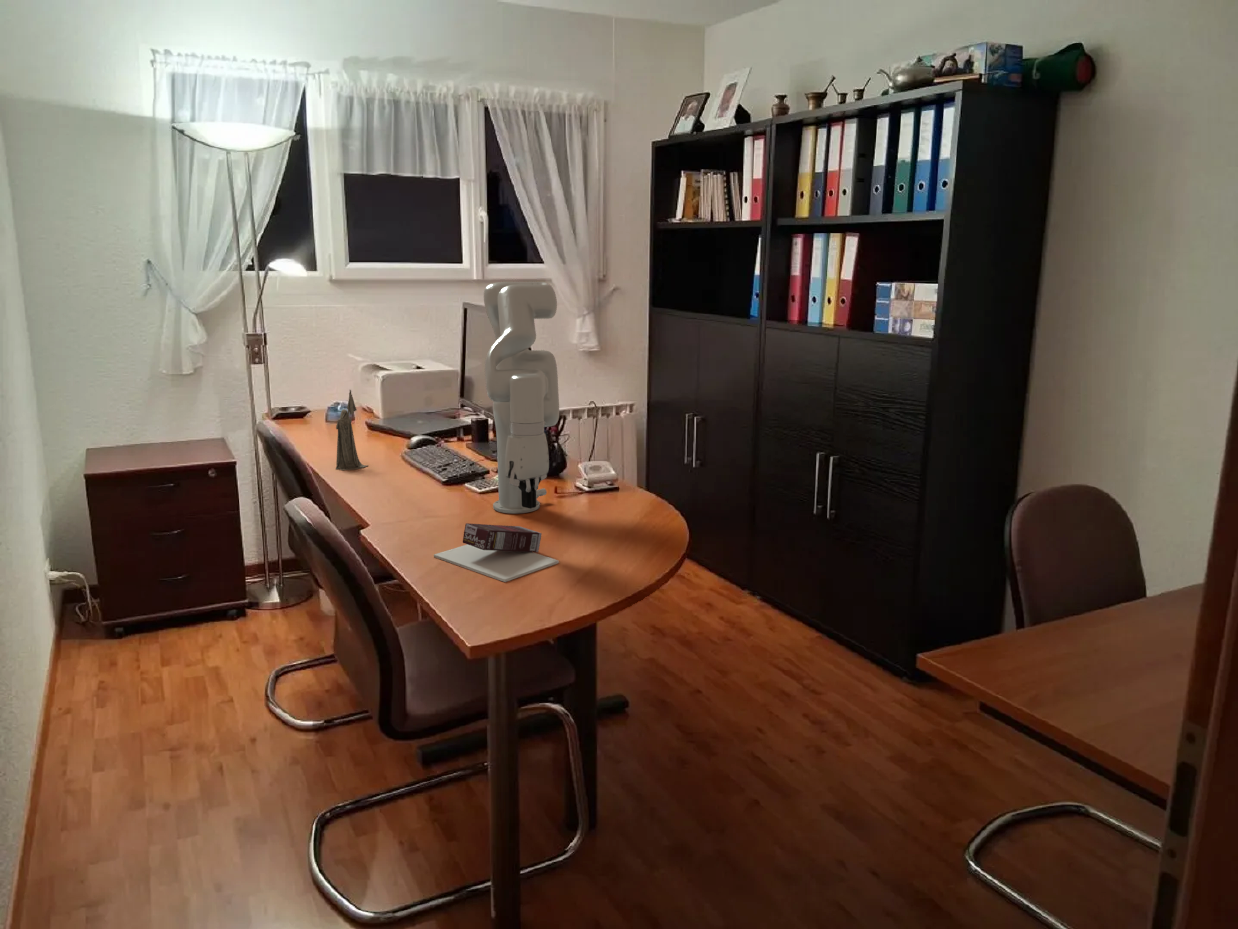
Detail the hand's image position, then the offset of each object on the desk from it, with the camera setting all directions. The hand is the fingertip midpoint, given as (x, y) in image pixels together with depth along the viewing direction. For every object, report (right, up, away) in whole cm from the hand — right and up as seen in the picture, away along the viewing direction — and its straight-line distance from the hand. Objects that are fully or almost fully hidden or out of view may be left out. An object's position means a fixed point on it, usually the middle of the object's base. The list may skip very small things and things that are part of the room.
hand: (529, 506), depth 207 cm
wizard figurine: (-66, +9, +82) cm, 105 cm away
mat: (-7, -12, -5) cm, 15 cm away
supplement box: (0, -8, +2) cm, 8 cm away
